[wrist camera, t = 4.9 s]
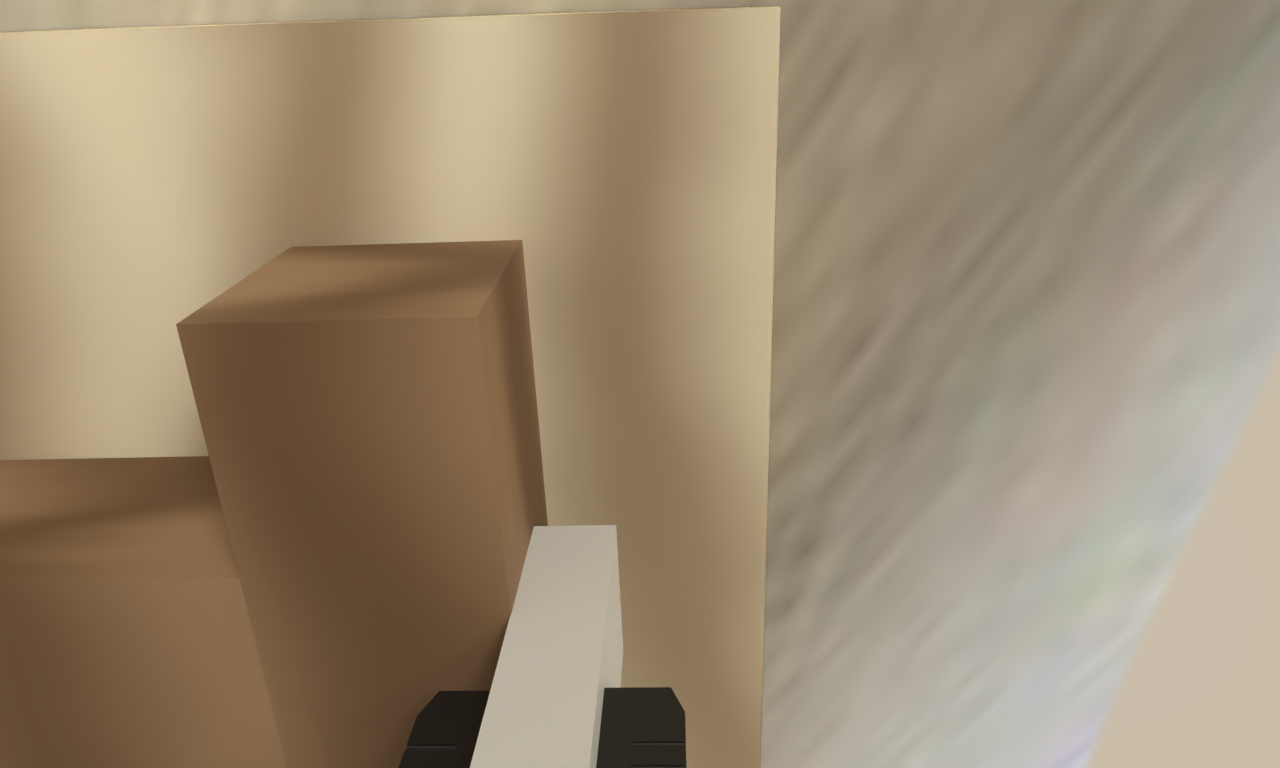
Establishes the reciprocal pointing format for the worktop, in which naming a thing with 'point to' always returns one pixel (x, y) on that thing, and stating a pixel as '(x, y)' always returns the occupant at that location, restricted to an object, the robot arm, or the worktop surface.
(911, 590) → the worktop surface
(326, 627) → the t block
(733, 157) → the board
